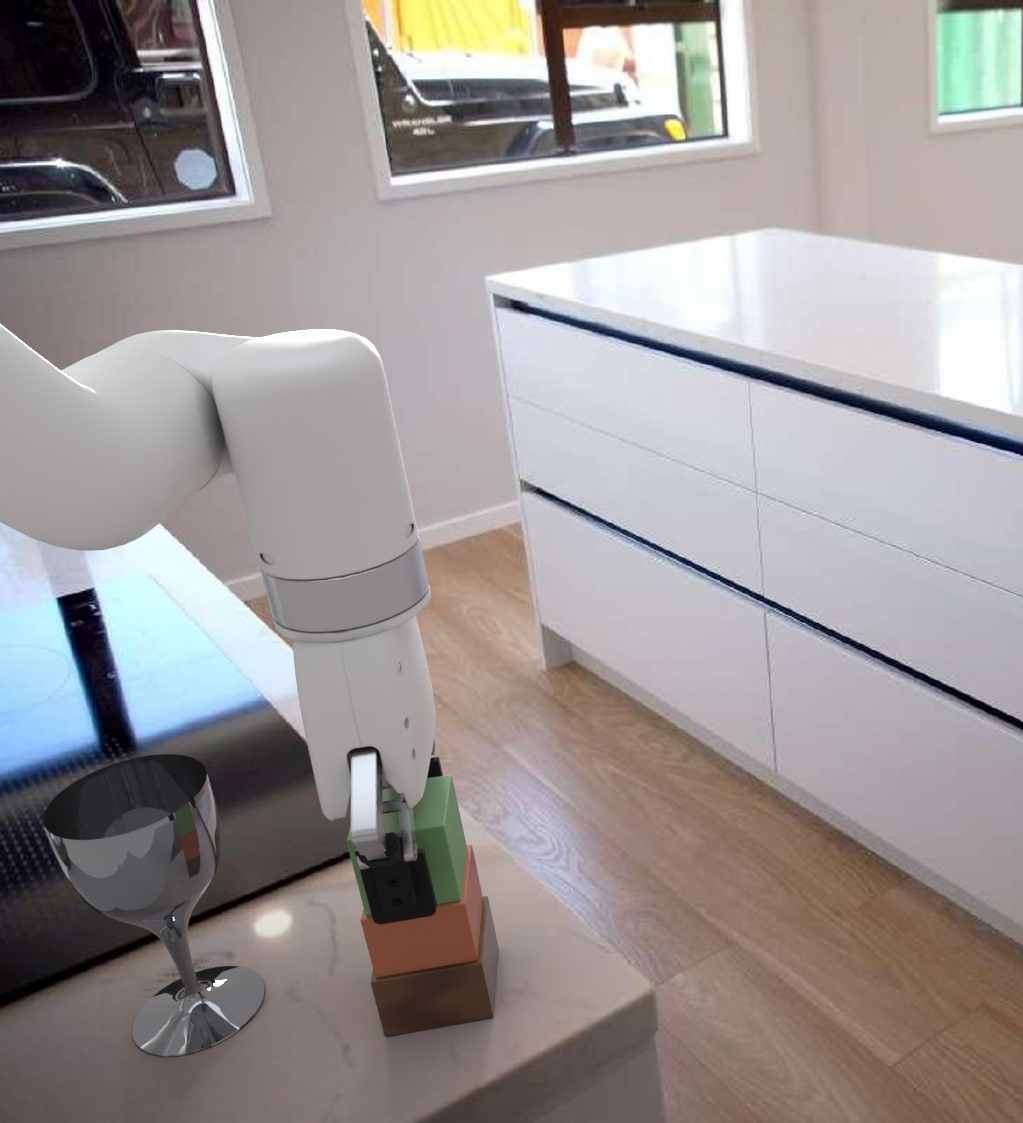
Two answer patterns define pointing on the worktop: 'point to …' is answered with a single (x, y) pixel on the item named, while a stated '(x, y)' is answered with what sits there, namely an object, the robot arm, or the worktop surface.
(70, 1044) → the worktop surface
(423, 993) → the walnut block
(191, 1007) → the wine glass
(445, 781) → the green block
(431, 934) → the terracotta block
